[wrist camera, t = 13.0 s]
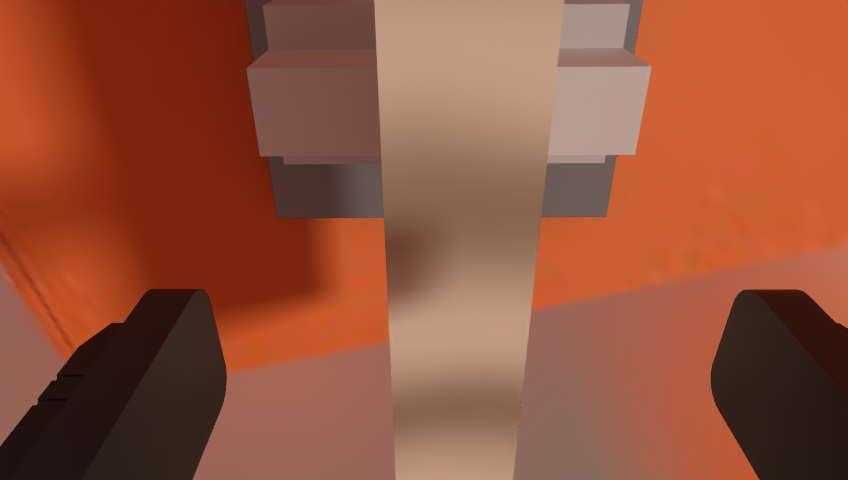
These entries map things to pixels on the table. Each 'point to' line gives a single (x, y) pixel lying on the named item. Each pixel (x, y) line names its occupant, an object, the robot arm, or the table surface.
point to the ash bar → (462, 220)
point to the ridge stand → (359, 105)
